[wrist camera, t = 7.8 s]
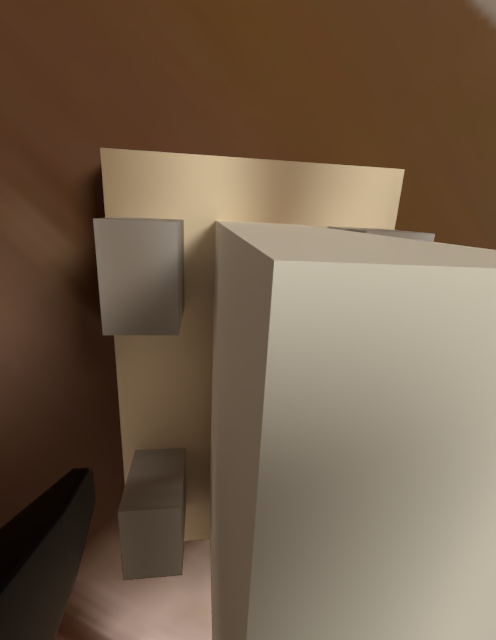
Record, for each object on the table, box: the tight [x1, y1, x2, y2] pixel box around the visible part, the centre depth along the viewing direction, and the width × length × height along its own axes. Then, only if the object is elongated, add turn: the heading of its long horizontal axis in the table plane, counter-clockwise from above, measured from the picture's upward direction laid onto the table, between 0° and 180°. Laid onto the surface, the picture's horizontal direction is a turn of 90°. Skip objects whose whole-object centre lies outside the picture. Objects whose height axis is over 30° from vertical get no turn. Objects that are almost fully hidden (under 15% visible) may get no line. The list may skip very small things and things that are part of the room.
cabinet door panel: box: [209, 221, 496, 640], centre depth 9 cm, size 3×12×10 cm, turn 177°
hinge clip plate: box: [93, 148, 435, 580], centre depth 13 cm, size 10×16×4 cm, turn 177°
